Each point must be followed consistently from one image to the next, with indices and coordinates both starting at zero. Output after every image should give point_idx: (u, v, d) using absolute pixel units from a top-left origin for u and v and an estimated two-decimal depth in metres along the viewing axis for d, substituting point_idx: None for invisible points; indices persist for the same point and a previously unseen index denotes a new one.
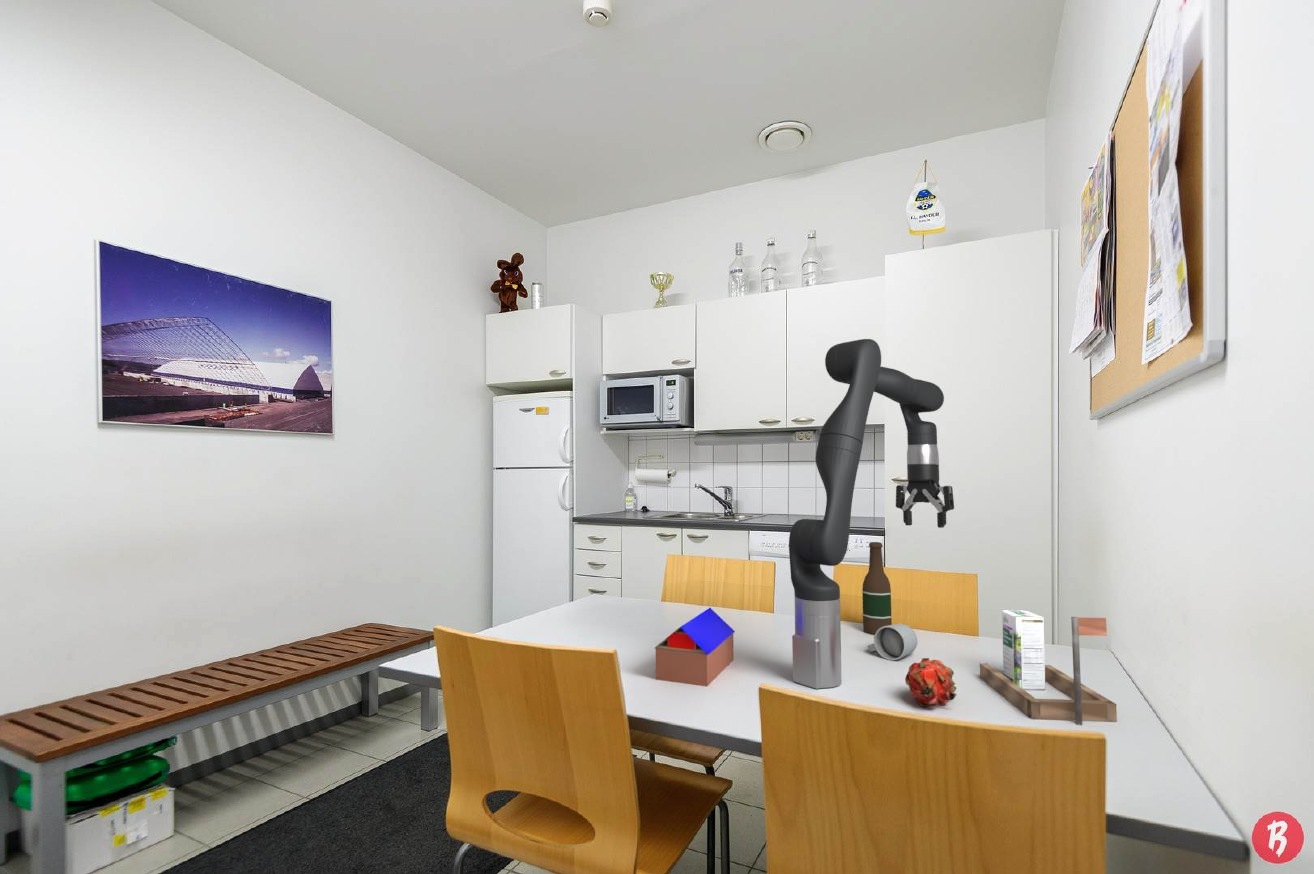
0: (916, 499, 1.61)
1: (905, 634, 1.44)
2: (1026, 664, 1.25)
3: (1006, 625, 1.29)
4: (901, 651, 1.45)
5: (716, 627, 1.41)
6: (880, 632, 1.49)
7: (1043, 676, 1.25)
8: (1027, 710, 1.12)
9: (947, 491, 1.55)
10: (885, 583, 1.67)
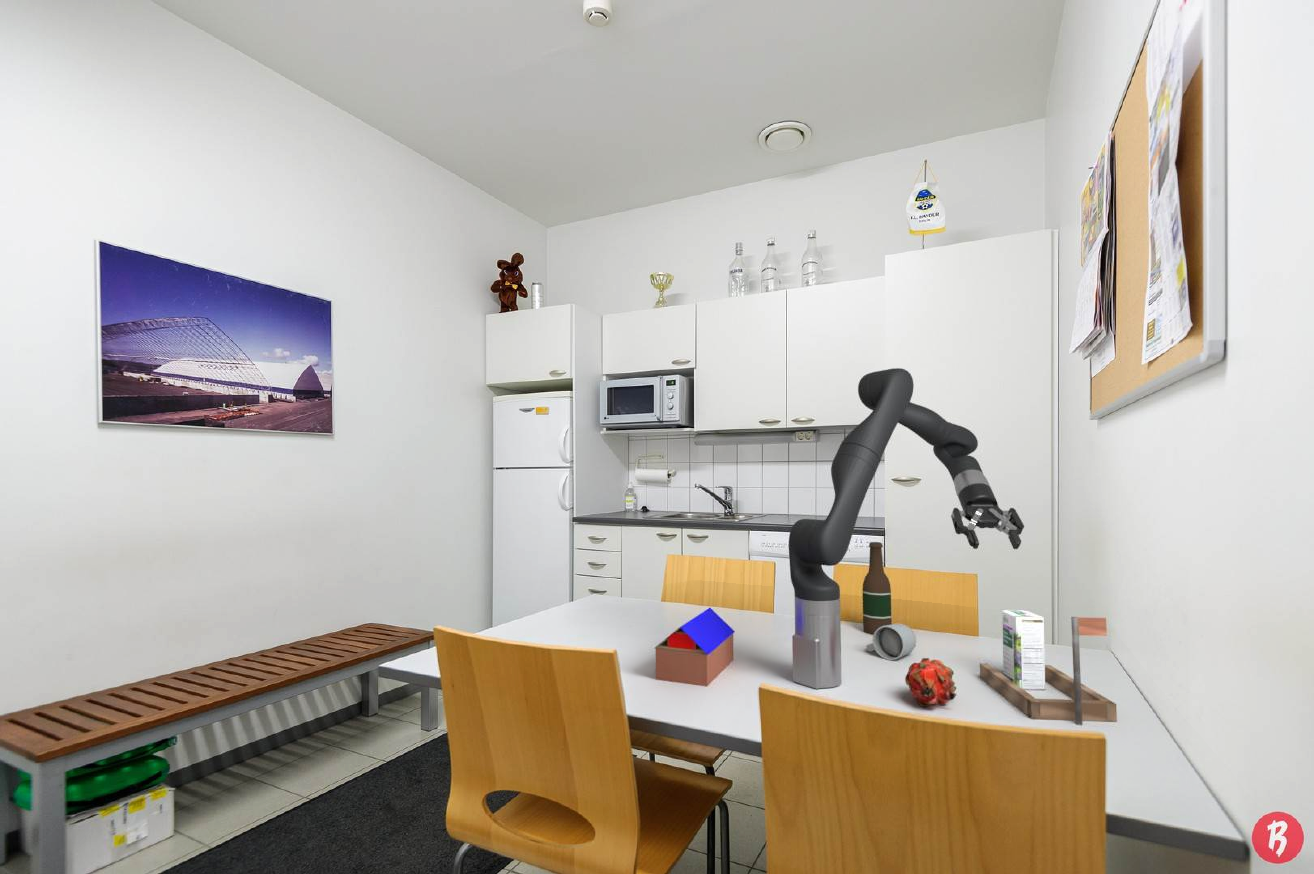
0: (981, 519, 1.44)
1: (904, 634, 1.45)
2: (1026, 664, 1.25)
3: (1006, 625, 1.29)
4: (900, 651, 1.45)
5: (716, 627, 1.41)
6: (879, 632, 1.49)
7: (1043, 676, 1.25)
8: (1027, 710, 1.12)
9: (1015, 512, 1.45)
10: (885, 583, 1.67)
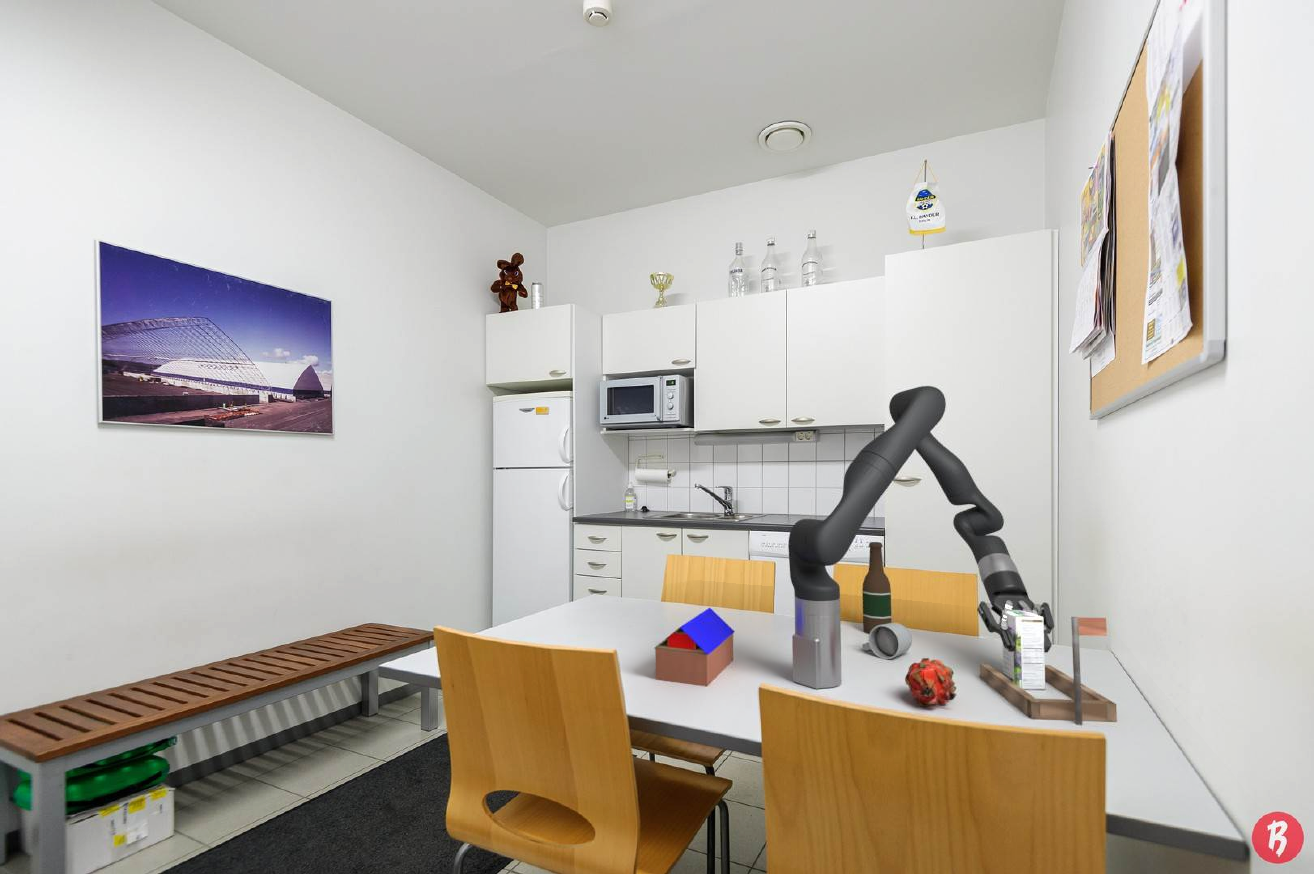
0: None
1: (899, 633, 1.45)
2: (1026, 664, 1.25)
3: None
4: (895, 650, 1.46)
5: (716, 627, 1.41)
6: (875, 631, 1.49)
7: (1043, 676, 1.25)
8: (1027, 710, 1.12)
9: (1048, 608, 1.30)
10: (885, 583, 1.67)
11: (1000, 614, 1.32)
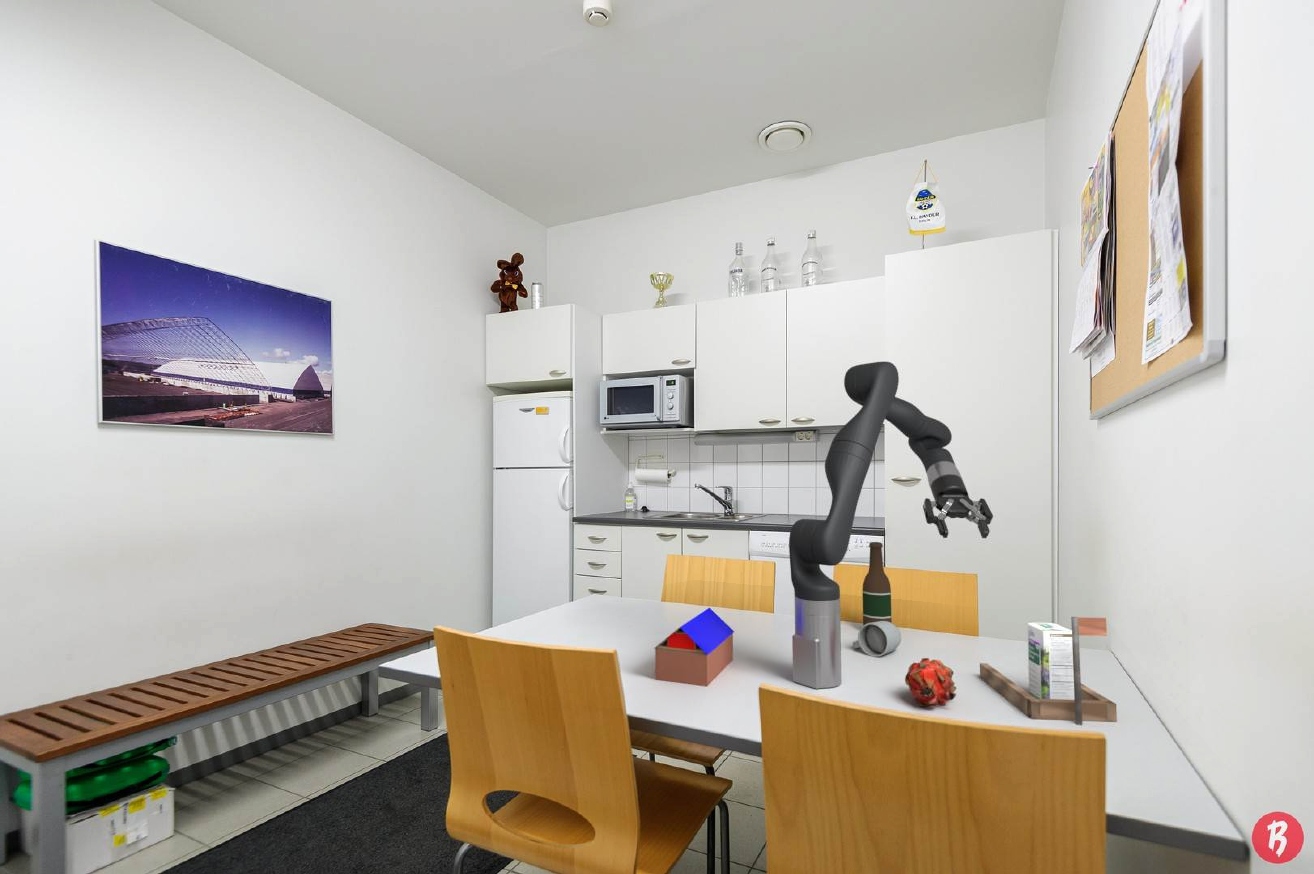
0: (952, 509, 1.47)
1: (888, 631, 1.47)
2: (1055, 683, 1.14)
3: (1032, 639, 1.18)
4: (884, 648, 1.47)
5: (716, 627, 1.41)
6: (864, 629, 1.51)
7: (1073, 696, 1.14)
8: (1027, 710, 1.12)
9: (985, 502, 1.48)
10: (885, 584, 1.67)
11: (941, 510, 1.49)
